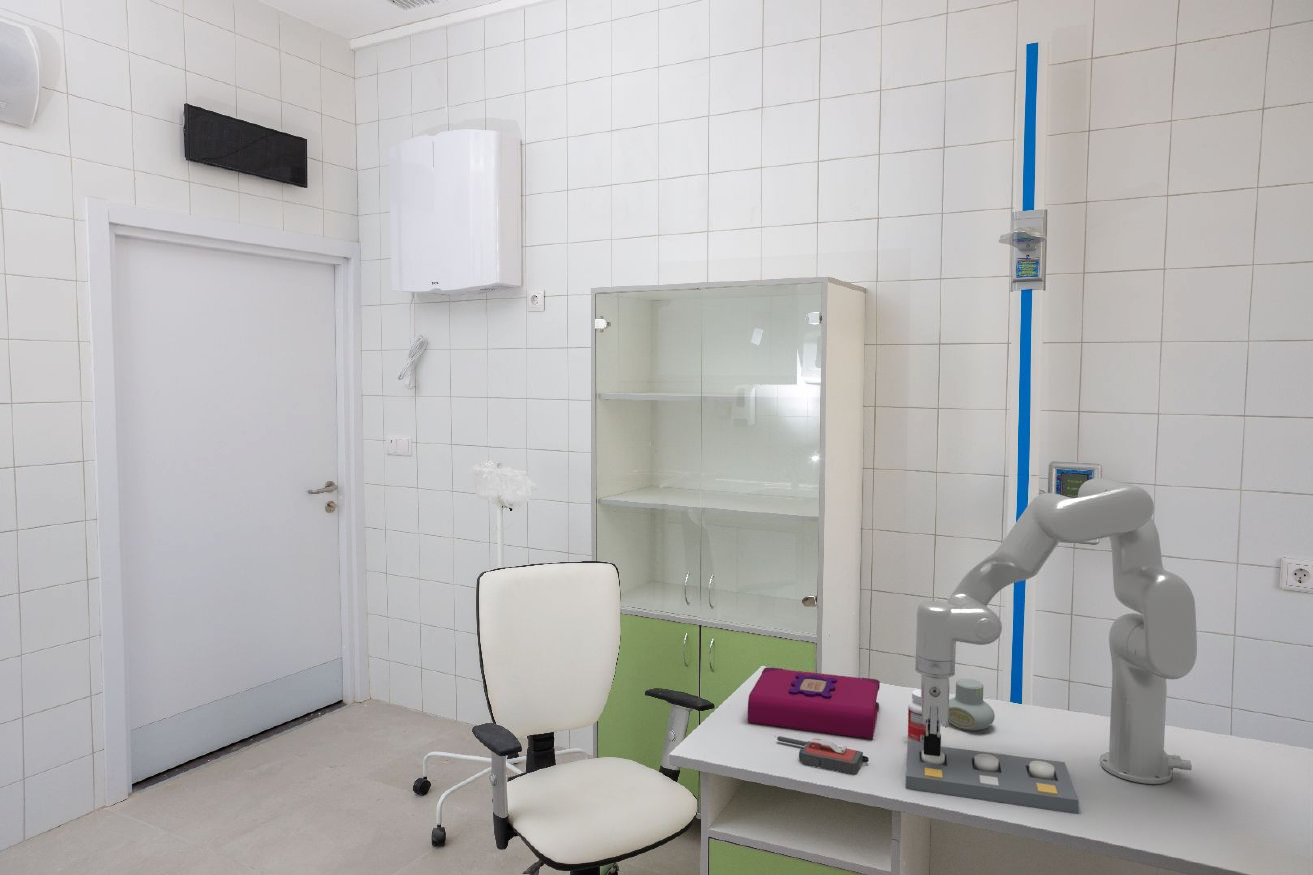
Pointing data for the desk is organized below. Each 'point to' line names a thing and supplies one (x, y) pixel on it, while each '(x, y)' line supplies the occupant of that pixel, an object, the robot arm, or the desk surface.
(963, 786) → the button board
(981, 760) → the middle button
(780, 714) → the book
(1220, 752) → the desk surface
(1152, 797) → the desk surface
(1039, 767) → the near button
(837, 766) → the walkie-talkie
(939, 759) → the far button
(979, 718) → the air freshener
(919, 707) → the pill bottle
